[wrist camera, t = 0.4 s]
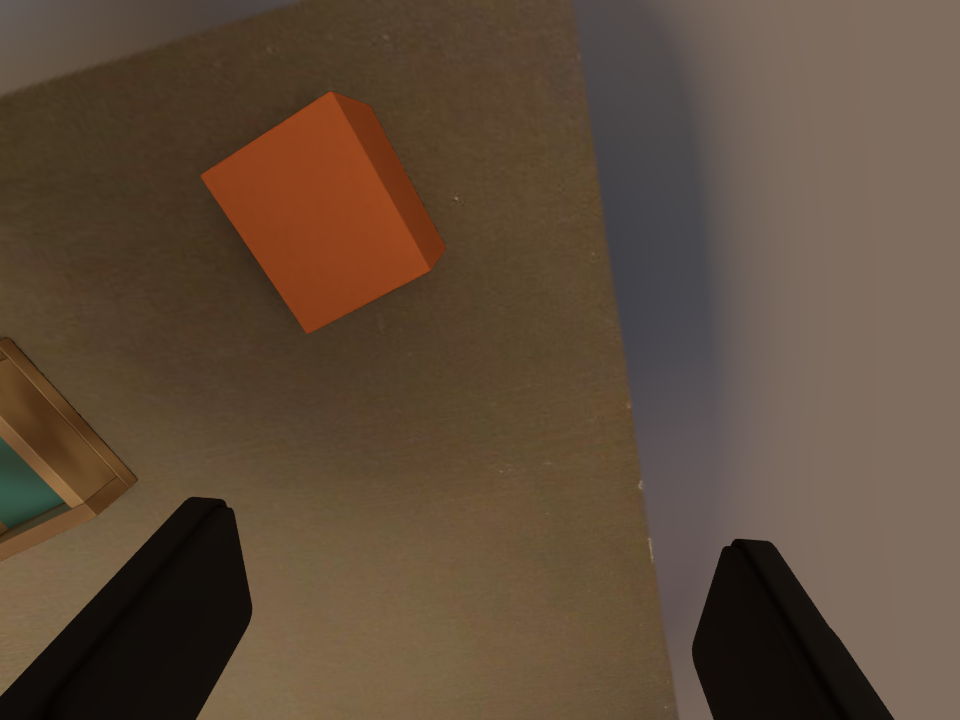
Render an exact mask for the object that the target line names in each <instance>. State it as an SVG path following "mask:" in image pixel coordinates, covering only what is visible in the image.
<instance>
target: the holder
mask: <svg viewBox="0 0 960 720" xmlns="http://www.w3.org/2000/svg"><path fill="white" fill-rule="evenodd" d="M136 482H137V479H136V477H135V476H134V475H133V474H132V473H131V472H130V471H129V470H128V469H127V468H126V466H125V465H124V464H123V463H122V462H121V461H120V460H119V459H118V458H117V457H116V455H115V454H114V453H113V452H112V451H111V450H110V449H109V448H108V447H107V446H106V444H105V443H104V442H103V441H102V440H101V439H100V438H99V437H98V436H97V435H96V433H95V432H94V431H93V430H92V429H91V428H90V427H89V426H88V425H87V424H86V422H85V421H84V420H83V419H82V418H81V417H80V416H79V415H78V414H77V413H76V411H75V410H74V409H73V408H72V407H71V406H70V405H69V404H68V403H67V402H66V400H65V399H64V398H63V397H62V396H61V395H60V394H59V393H58V392H57V391H56V389H55V388H54V387H53V386H52V385H51V384H50V383H49V382H48V381H47V380H46V378H45V377H44V376H43V375H42V374H41V373H40V372H39V371H38V370H37V369H36V367H35V366H34V365H33V364H32V363H31V362H30V361H29V360H28V359H27V358H26V356H25V355H24V354H23V353H22V352H21V351H20V350H19V349H18V348H17V347H16V345H15V344H14V343H13V342H12V341H11V340H10V339H9V338H5V339H3V340H0V561H2V560H4V559H7V558H9V557H11V556H13V555H15V554H17V553H19V552H21V551H24V550H26V549H28V548H30V547H32V546H34V545H36V544H38V543H41V542H43V541H45V540H47V539H49V538H51V537H53V536H56V535H58V534H60V533H62V532H64V531H66V530H68V529H70V528H73V527H75V526H77V525H79V524H81V523H83V522H85V521H87V520H90V519H92V518H94V517H96V516H98V515H99V514H100V513H101V512H102V511H103V510H105V509H106V508H107V507H108V506H109V505H110V504H111V503H113V502H114V501H115V500H116V499H117V498H118V497H120V496H121V495H122V494H123V493H124V492H125V491H126V490H128V488H130V487H131V486H132V485H133V484H134V483H136Z"/></svg>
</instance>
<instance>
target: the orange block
mask: <svg viewBox="0 0 960 720" xmlns="http://www.w3.org/2000/svg"><path fill="white" fill-rule="evenodd" d="M201 178H202V180H203V181H204V183H205V184H206V186H207V187H208V189H209V190H210V192H211V193H212V194H213V196H214V197H215V199H216V200H217V202H218V203H219V205H220V206H221V208H222V209H223V211H224V212H225V214H226V215H227V217H228V218H229V220H230V221H231V223H232V224H233V226H234V227H235V228H236V230H237V231H238V233H239V234H240V236H241V237H242V239H243V240H244V242H245V243H246V245H247V246H248V248H249V249H250V251H251V252H252V254H253V255H254V257H255V258H256V260H257V261H258V262H259V264H260V265H261V267H262V268H263V270H264V271H265V273H266V274H267V276H268V277H269V279H270V280H271V282H272V283H273V285H274V286H275V288H276V289H277V291H278V292H279V294H280V295H281V296H282V298H283V299H284V301H285V302H286V304H287V305H288V307H289V308H290V310H291V311H292V313H293V314H294V316H295V317H296V319H297V320H298V322H299V323H300V325H301V326H302V328H303V329H304V330H305V332H306V333H307V334H309V333H311V332H313V331H315V330H317V329H319V328H321V327H323V326H325V325H327V324H329V323H331V322H333V321H335V320H336V319H338V318H340V317H342V316H344V315H346V314H348V313H350V312H352V311H354V310H356V309H358V308H360V307H362V306H364V305H365V304H367V303H369V302H371V301H373V300H375V299H377V298H379V297H381V296H383V295H385V294H387V293H389V292H391V291H393V290H394V289H396V288H398V287H400V286H402V285H404V284H406V283H408V282H410V281H412V280H414V279H416V278H418V277H420V276H422V275H423V274H425V273H427V272H429V271H430V270H431V269H432V267H433V266H434V265H435V263H436V262H437V260H438V259H439V258H440V256H441V255H442V253H443V252H444V251H445V249H446V247H445V245H444V243H443V241H442V239H441V238H440V236H439V234H438V232H437V230H436V228H435V226H434V224H433V223H432V221H431V219H430V217H429V215H428V213H427V211H426V210H425V208H424V206H423V204H422V202H421V200H420V198H419V196H418V195H417V193H416V191H415V189H414V187H413V185H412V183H411V181H410V180H409V178H408V176H407V174H406V172H405V170H404V168H403V166H402V165H401V163H400V161H399V159H398V157H397V155H396V153H395V151H394V150H393V148H392V146H391V144H390V142H389V140H388V138H387V136H386V135H385V133H384V131H383V129H382V127H381V125H380V123H379V121H378V120H377V118H376V116H375V114H374V112H373V110H372V108H371V107H370V105H368V104H365V103H362V102H359V101H357V100H354V99H351V98H349V97H346V96H343V95H340V94H338V93H335V92H332V91H329V92H328V93H326V94H325V95H323V96H322V97H320V98H318V99H317V100H315V101H314V102H312V103H311V104H309V105H308V106H306V107H305V108H303V109H302V110H300V111H298V112H297V113H295V114H294V115H292V116H291V117H289V118H288V119H286V120H285V121H283V122H282V123H280V124H278V125H277V126H275V127H274V128H272V129H271V130H269V131H268V132H266V133H265V134H263V135H262V136H260V137H258V138H257V139H255V140H254V141H252V142H251V143H249V144H248V145H246V146H245V147H243V148H242V149H240V150H238V151H237V152H235V153H234V154H232V155H231V156H229V157H228V158H226V159H225V160H223V161H222V162H220V163H218V164H217V165H215V166H214V167H212V168H211V169H209V170H208V171H206V172H205V173H203V174H202V175H201Z"/></svg>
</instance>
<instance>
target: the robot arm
mask: <svg viewBox="0 0 960 720" xmlns="http://www.w3.org/2000/svg"><path fill="white" fill-rule="evenodd" d="M251 615H252V602H251V597H250V592H249V587H248V581H247V576H246V571H245V566H244V561H243V555H242V550H241V545H240V540H239V535H238V530H237V524H236V519H235V514H234V511H233V509H232V508H229V507H227V505H226V502H225V501H224V500H222V499H215V498H202V497H191V498H188V499H187V500H186V501H184V502H183V503H182V505H181V506H180V507H179V508H178V509H177V510H176V511H175V512H174V513H173V514H172V515H171V516H170V517H169V518H168V519H167V520H166V521H165V523H164V524H163V525H162V526H161V527H160V528H159V529H158V530H157V531H156V532H155V533H154V534H153V535H152V536H151V537H150V538H149V540H148V541H147V542H146V543H145V544H144V545H143V546H142V547H141V548H140V549H139V550H138V551H137V552H136V553H135V554H134V555H133V556H132V558H131V559H130V560H129V561H128V562H127V563H126V564H125V565H124V566H123V567H122V568H121V569H120V570H119V571H118V572H117V573H116V575H115V576H114V577H113V578H112V579H111V580H110V581H109V582H108V583H107V584H106V585H105V586H104V587H103V588H102V589H101V590H100V591H99V593H98V594H97V595H96V596H95V597H94V598H93V599H92V600H91V601H90V602H89V603H88V604H87V605H86V606H85V607H84V608H83V609H82V611H81V612H80V613H79V614H78V615H77V616H76V617H75V618H74V619H73V620H72V621H71V622H70V623H69V624H68V625H67V626H66V628H65V629H64V630H63V631H62V632H61V633H60V634H59V635H58V636H57V637H56V638H55V639H54V640H53V641H52V642H51V643H50V644H49V646H48V647H47V648H46V649H45V650H44V651H43V652H42V653H41V654H40V655H39V656H38V657H37V658H36V659H35V660H34V661H33V663H32V664H31V665H30V666H29V667H28V668H27V669H26V670H25V671H24V672H23V673H22V674H21V675H20V676H19V677H18V678H17V679H16V681H15V682H14V683H13V684H12V685H11V686H10V687H9V688H8V689H7V690H6V691H5V692H4V693H3V694H2V695H1V696H0V720H196V718H197V717H198V715H199V713H200V711H201V709H202V708H203V706H204V704H205V702H206V700H207V699H208V697H209V695H210V693H211V692H212V690H213V688H214V686H215V684H216V683H217V681H218V679H219V677H220V675H221V674H222V672H223V670H224V668H225V666H226V665H227V663H228V661H229V659H230V658H231V656H232V654H233V652H234V650H235V649H236V647H237V645H238V643H239V641H240V640H241V638H242V636H243V634H244V632H245V631H246V629H247V627H248V625H249V622H250V619H251ZM692 656H693V662H694V665H695V669H696V671H697V674H698V677H699V680H700V683H701V685H702V688H703V691H704V694H705V696H706V699H707V702H708V705H709V708H710V711H711V713H712V716H713V719H714V720H894V718H893V717H892V715H891V714H890V713H889V711H888V710H887V708H886V706H885V705H884V704H883V702H882V701H881V699H880V698H879V696H878V695H877V693H876V692H875V691H874V689H873V687H872V686H871V684H870V683H869V681H868V680H867V678H866V677H865V676H864V674H863V673H862V671H861V670H860V668H859V667H858V665H857V664H856V662H855V661H854V659H853V658H852V657H851V655H850V653H849V652H848V651H847V649H846V648H845V646H844V645H843V643H842V642H841V640H840V639H839V637H838V636H837V635H836V634H835V633H834V631H833V630H832V629H831V628H830V627H829V626H828V624H827V623H826V621H825V620H824V618H823V617H822V615H821V614H820V613H819V611H818V610H817V608H816V606H815V605H814V603H813V602H812V600H811V599H810V598H809V596H808V595H807V593H806V592H805V590H804V589H803V587H802V586H801V584H800V583H799V581H798V580H797V579H796V577H795V575H794V574H793V572H792V571H791V569H790V568H789V566H788V565H787V563H786V562H785V561H784V559H783V557H782V556H781V554H780V553H779V552H778V550H777V548H776V547H775V546H774V545H773V544H772V543H771V542H769V541H761V540H747V539H735V540H734V541H733V542H732V544H731V546H725V547H724V548H723V549H722V552H721V555H720V558H719V561H718V565H717V568H716V571H715V574H714V577H713V580H712V584H711V587H710V590H709V593H708V596H707V600H706V603H705V606H704V609H703V613H702V615H701V619H700V622H699V625H698V628H697V631H696V635H695V638H694V641H693V645H692Z"/></svg>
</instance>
